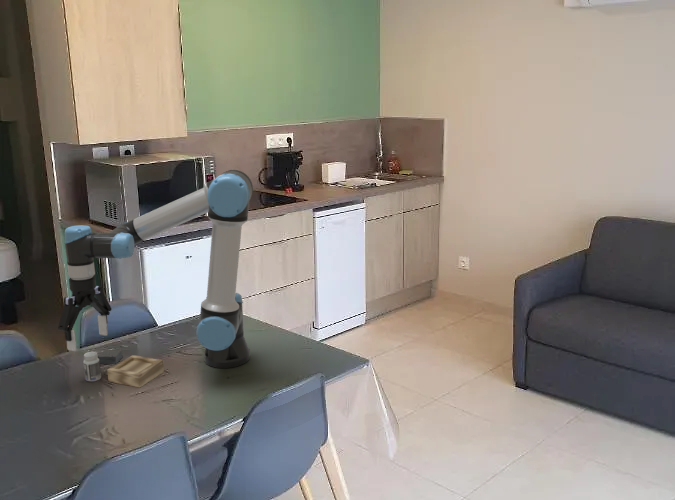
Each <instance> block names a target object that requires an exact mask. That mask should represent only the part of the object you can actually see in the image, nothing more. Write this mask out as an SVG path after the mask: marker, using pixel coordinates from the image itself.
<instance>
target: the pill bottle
mask: <svg viewBox="0 0 675 500" xmlns="http://www.w3.org/2000/svg"><path fill="white" fill-rule="evenodd" d="M98 356H99V355H98V351H87V352H85V353H84V354H83V362H82V364H83V370H84V378H85V381H87V382H96V381H99V380H100V379H101V378H102V373H101V364H100V362H99V358H98Z"/></svg>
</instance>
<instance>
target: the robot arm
mask: <svg viewBox="0 0 675 500" xmlns="http://www.w3.org/2000/svg"><path fill="white" fill-rule="evenodd" d="M253 193H254V186H253V182H252V179H251V178H250V177H249V175H248V174H246V173H245V172H244V171H241V170H240V169H239V170H238V169H228V170H226V171H224V172H223V173H221V174H220V175H218V176H216V177H215V178H214V179H212V180H210V181H208V182H206V183H205V185H204V187H202V188H200V189H198V190H195V191H193V192H191V193H189V194H187V195H184V196H183V197H180V198H178V199H176V200H173V201H171V202H169V203H167V204H166V203H165V204H164V205H162V206H160V207H158V208H155V209H153V210H152V211H149V212H146V213H144V214H143V215H140V216H138V217H136V218H134V219H132V220H129V221H126V222H123V223H120V224H119V225H117V227H115V228H114V229H113V230H111V231H109V232H100V233H99V232H93V231H92V228H91V226H89V225H85V224H83V225H81V224H80V225H79V224H78V225H71V226H69V227H66V228H65V230H64V246H65V253H66V254H65V255H66V265H67V273H68V274H67V275H68V277H69V278H68V286H69V290H70V292H71V297H67V296H65V297H64V298H63V307H62V311H61V315H60V318H59V323H58V326H57V330H58V331H60V332H61V331H62V332H63V333H64V339H65V340H64V341H65V342H66V347H67V350H68V351H71V352H72V351H73V352H76V351H77V343H76V335H75V329H73V328H74V326H75V324H76V321H77V319H78V316H79V314H80V312H81V311H82V310H83V308H86V307H87V306H91V307H92V308H93V309H94V310H95V311H96V312H98V315H97V324H98V335H100V336H105V337H106V336H108V326H107V325H108V316H110V314H111V313H110V312H111V311H112V307H111V305H110V303H109V301H108V299H107V297H106V296H105V293H104V290H103V286H99V285H97V281H96V276H95V275H96V270H95V260H94V259H119V260H120V259H128V258H131V257H132V256H133V255H134V252H135V246H136V245H138V244H139V243H143V242H144V241H147V240H148V239H151V238H153V237H155V236H158V235H160V234H162V233H165V232H166V231H168V230H171V229H174V228H175V227H178V226H180V225H182V224H184V223H187V222H189V221H192V220H195V219H196V218H198V217H200V216H203V215H204V214H205V215H206V214H207V218H208V219H209V220H210V221H211V223H212V229H211V239H210V240H211V241H210V251H209V252H210V253H209V266H208V277H207V278H208V279H207V291H206V298H205V299H204V300H203V301H202V302H201V304H200V313H199V314H200V315H199V323H198V324H197V326H196V338H197V341H198V342H199V343H200V344H201V345H202V346H203V347H204V348H205V351H204V355H203V356H204V363H205V364H206V365H208V366H210V367H212V368H219V369H220V368H221V369H229V368H235V367H238V366H242V365H244V364H246V363H247V362H249V360H250V359H251V351H250V348H249V346H248V343H247V341H246V338H245V334H244V333H245V332H244V315H243V313H244V311H243V304H244V302H243V297H242V295H241V294H240V293H239V292H237V284H238V283H237V282H238V272H239V271H238V268H239V258H240V250H241V249H240V248H241V237H242V226H243V225H244V224H245V223H247V222H248V218H249V209H250V200H251V198H252V196H253Z"/></svg>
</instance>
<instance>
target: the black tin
mask: <svg viewBox="0 0 675 500" xmlns="http://www.w3.org/2000/svg"><path fill="white" fill-rule="evenodd" d="M98 358H99V362H100V365H116V364H118V363H120V362H121V360H122V359H123V358H124V357H123V349H103V350H102V351H101V353H100V354H99V355H98Z"/></svg>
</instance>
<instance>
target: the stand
mask: <svg viewBox="0 0 675 500" xmlns="http://www.w3.org/2000/svg"><path fill="white" fill-rule="evenodd" d="M164 370H165V369H164V360H163V359H158V358H152V357H147V356H146V357H145V356H140V355H135V354H134V355H133V354H132V355H130V356H128V357H127V358H125V359H124V360H122V361H121V360H120V361H119V362H118V363H117V364H113V366H111V367H110V368H107V370H106V371H107V379H108V382H110V383H114V384H119V385H125V386H131V387H135V388H141V387H143V386H144V385H146V384H148V383H149V382H151V381H152V380H154V379H155V378H157V377H159V376H160V375H162V374H163V373H164V372H165V371H164Z"/></svg>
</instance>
